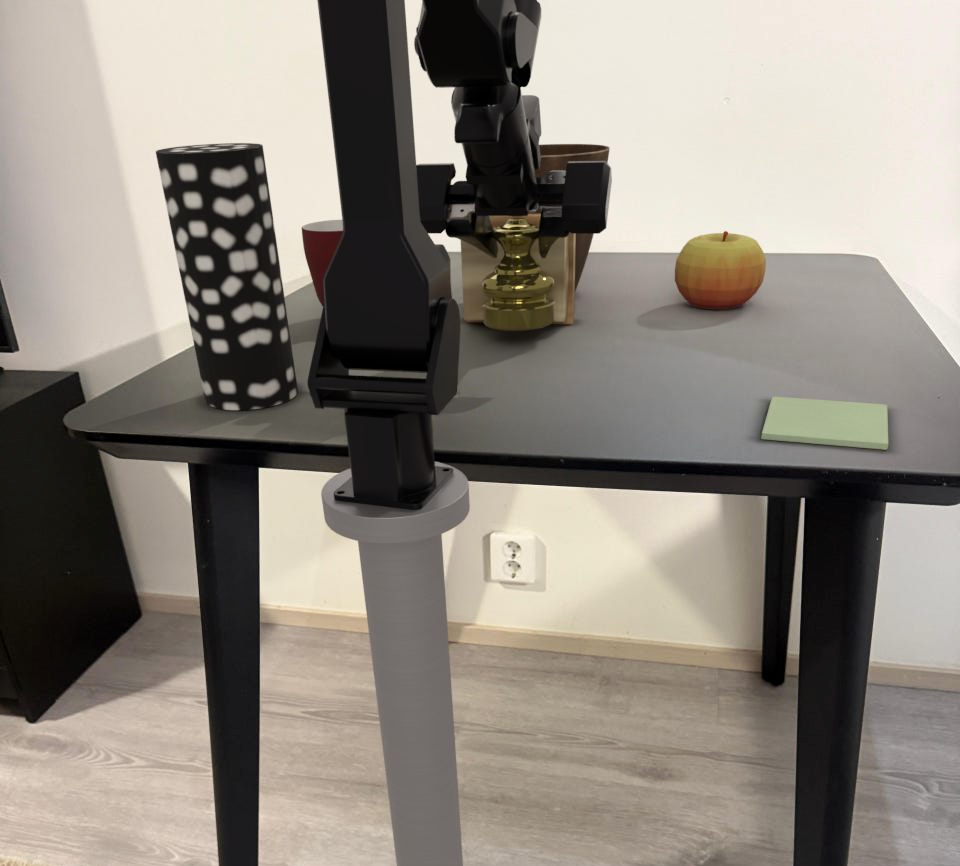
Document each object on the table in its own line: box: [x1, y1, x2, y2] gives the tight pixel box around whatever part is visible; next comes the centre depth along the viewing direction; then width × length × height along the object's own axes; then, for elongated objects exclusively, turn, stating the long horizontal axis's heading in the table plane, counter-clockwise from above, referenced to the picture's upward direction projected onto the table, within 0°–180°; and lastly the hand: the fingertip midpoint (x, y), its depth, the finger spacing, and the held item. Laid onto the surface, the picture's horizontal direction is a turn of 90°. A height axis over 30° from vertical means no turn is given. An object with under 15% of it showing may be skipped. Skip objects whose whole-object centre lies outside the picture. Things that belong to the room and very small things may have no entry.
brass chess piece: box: [482, 218, 555, 332], centre depth 93 cm, size 7×7×10 cm
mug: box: [301, 219, 343, 307], centre depth 104 cm, size 11×8×10 cm
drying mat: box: [760, 396, 889, 451], centre depth 73 cm, size 9×9×1 cm
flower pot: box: [528, 143, 611, 292], centre depth 109 cm, size 15×15×16 cm
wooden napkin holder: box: [460, 214, 576, 325], centre depth 98 cm, size 5×12×14 cm, turn 77°
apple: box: [674, 230, 767, 311], centre depth 104 cm, size 10×10×8 cm
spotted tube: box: [155, 142, 299, 411], centre depth 79 cm, size 8×8×20 cm
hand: (520, 253), depth 94 cm, fingers closed on brass chess piece, 5 cm apart
